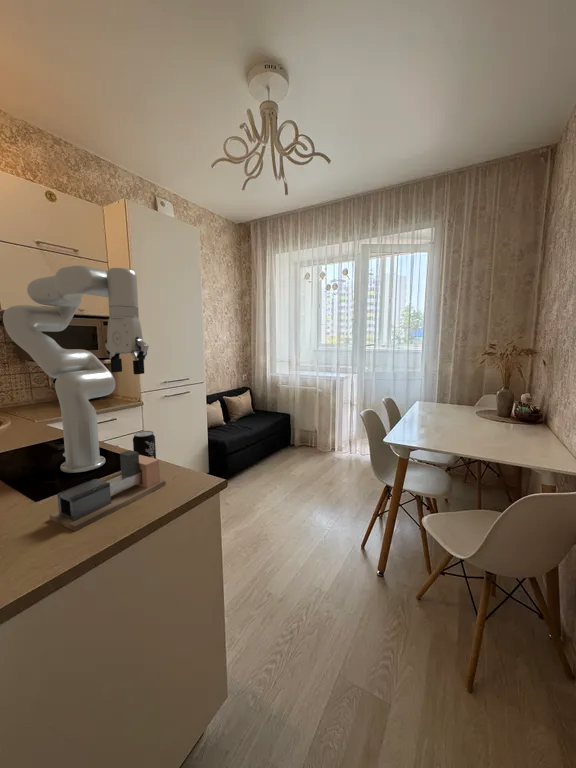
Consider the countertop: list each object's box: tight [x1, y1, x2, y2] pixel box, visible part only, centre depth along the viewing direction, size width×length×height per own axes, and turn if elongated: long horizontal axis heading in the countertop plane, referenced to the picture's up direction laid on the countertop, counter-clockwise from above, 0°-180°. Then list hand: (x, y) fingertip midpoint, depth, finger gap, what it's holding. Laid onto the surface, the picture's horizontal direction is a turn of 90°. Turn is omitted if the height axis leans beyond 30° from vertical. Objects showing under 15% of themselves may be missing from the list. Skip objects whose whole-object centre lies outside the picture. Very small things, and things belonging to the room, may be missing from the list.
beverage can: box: [132, 430, 157, 459], centre depth 104 cm, size 7×7×12 cm
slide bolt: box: [104, 449, 143, 496], centre depth 85 cm, size 4×16×9 cm, turn 154°
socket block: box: [136, 455, 161, 488], centre depth 92 cm, size 8×4×7 cm, turn 64°
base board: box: [49, 479, 167, 532], centre depth 84 cm, size 10×26×1 cm, turn 153°
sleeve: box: [56, 478, 111, 521], centre depth 77 cm, size 6×9×5 cm, turn 154°
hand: (127, 373), depth 94 cm, fingers open, 9 cm apart
